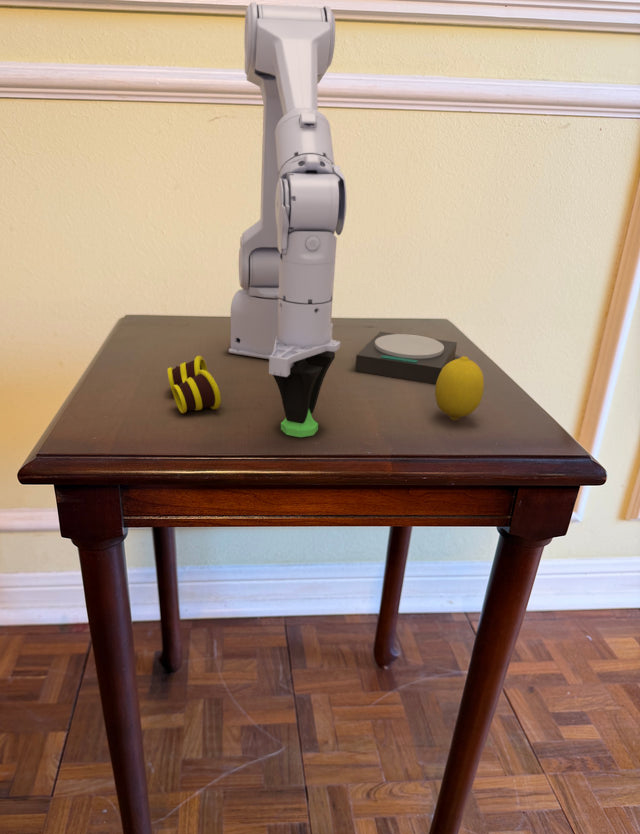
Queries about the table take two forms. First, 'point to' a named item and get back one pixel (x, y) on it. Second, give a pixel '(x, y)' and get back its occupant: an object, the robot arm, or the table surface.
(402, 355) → the scale
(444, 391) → the lemon
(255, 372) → the table surface
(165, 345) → the table surface
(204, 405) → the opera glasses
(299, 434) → the game piece
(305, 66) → the robot arm
